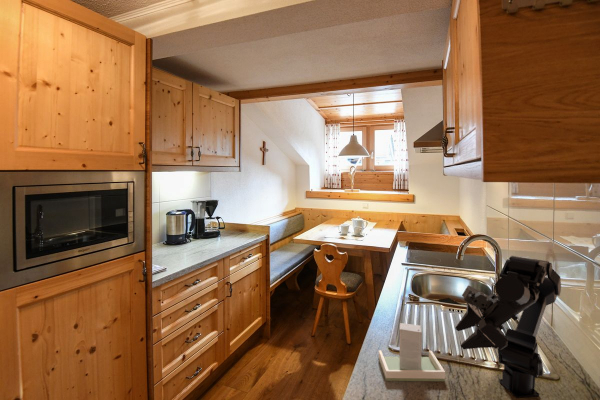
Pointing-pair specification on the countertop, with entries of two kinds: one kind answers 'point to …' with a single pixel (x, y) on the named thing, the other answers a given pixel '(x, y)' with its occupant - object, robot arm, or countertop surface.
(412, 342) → the skincare box
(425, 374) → the pad
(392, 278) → the countertop surface
